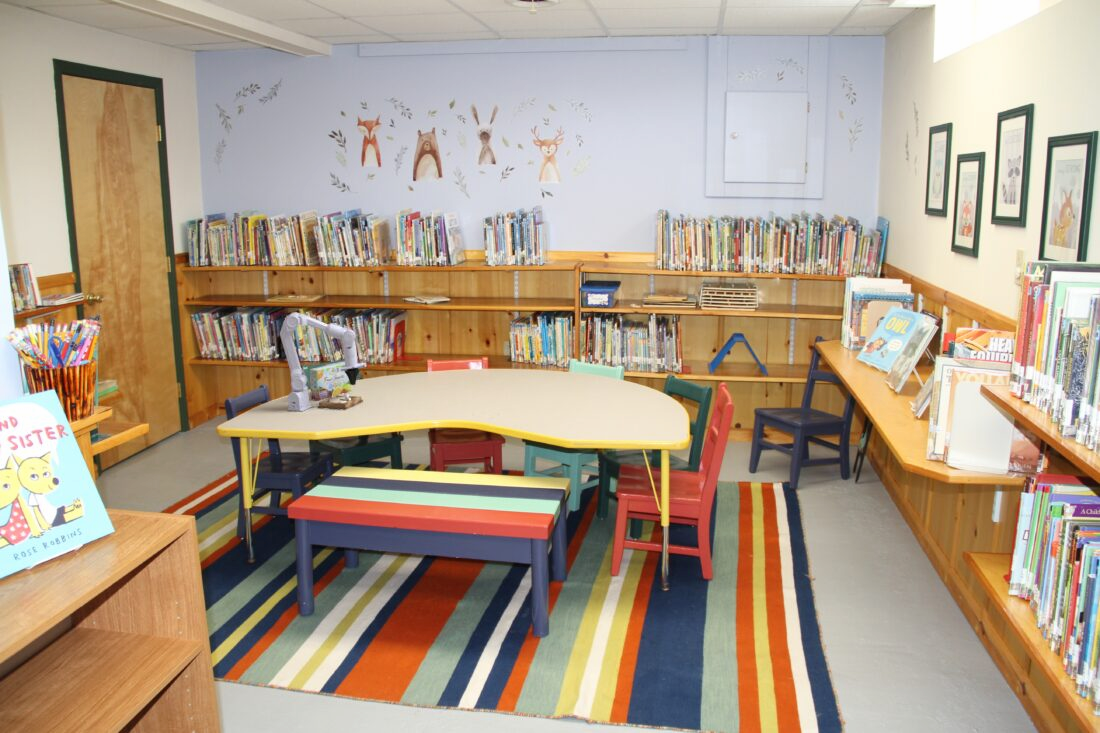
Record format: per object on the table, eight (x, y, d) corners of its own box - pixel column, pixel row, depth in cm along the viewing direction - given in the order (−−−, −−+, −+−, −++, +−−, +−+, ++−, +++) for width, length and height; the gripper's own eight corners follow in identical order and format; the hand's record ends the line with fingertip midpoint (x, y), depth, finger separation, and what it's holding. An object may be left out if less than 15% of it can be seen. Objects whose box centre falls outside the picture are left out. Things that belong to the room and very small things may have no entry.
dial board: (345, 409, 397) (345, 403, 397) (317, 408, 402) (317, 402, 402) (363, 401, 411) (362, 396, 411) (335, 400, 416) (335, 394, 415)
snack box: (319, 401, 416) (316, 370, 413) (311, 399, 419) (308, 369, 416) (352, 391, 433) (349, 361, 430) (344, 390, 436) (341, 361, 433)
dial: (324, 403, 405) (323, 394, 404) (340, 398, 413) (339, 389, 412) (340, 405, 399) (340, 396, 398) (356, 400, 407) (355, 392, 407)
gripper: (341, 359, 394) (343, 388, 397) (368, 354, 404) (371, 382, 406) (333, 357, 399) (335, 386, 402) (360, 352, 409) (363, 380, 412)
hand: (353, 384), depth 404 cm, fingers closed
